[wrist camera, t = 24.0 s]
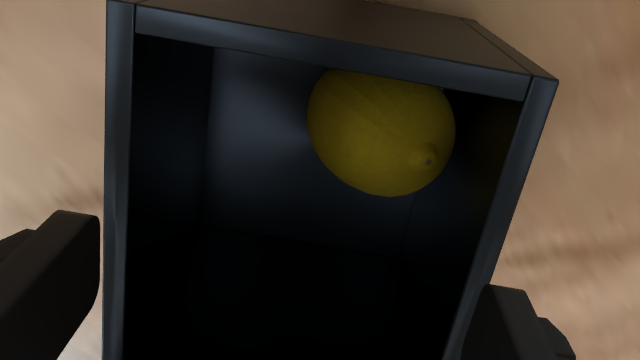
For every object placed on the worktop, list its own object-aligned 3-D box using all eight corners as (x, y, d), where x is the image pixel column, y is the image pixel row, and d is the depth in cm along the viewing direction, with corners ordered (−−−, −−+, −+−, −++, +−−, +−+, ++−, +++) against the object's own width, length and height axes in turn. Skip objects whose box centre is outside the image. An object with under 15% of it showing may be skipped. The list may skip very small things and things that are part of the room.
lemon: (311, 16, 24) (405, 63, 18) (408, 59, 27) (519, 114, 21) (263, 130, 26) (333, 213, 19) (359, 160, 29) (448, 241, 22)
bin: (207, -29, 26) (105, -2, 15) (475, 19, 26) (561, 80, 15) (186, 227, 32) (100, 380, 21) (408, 265, 32) (437, 436, 21)
